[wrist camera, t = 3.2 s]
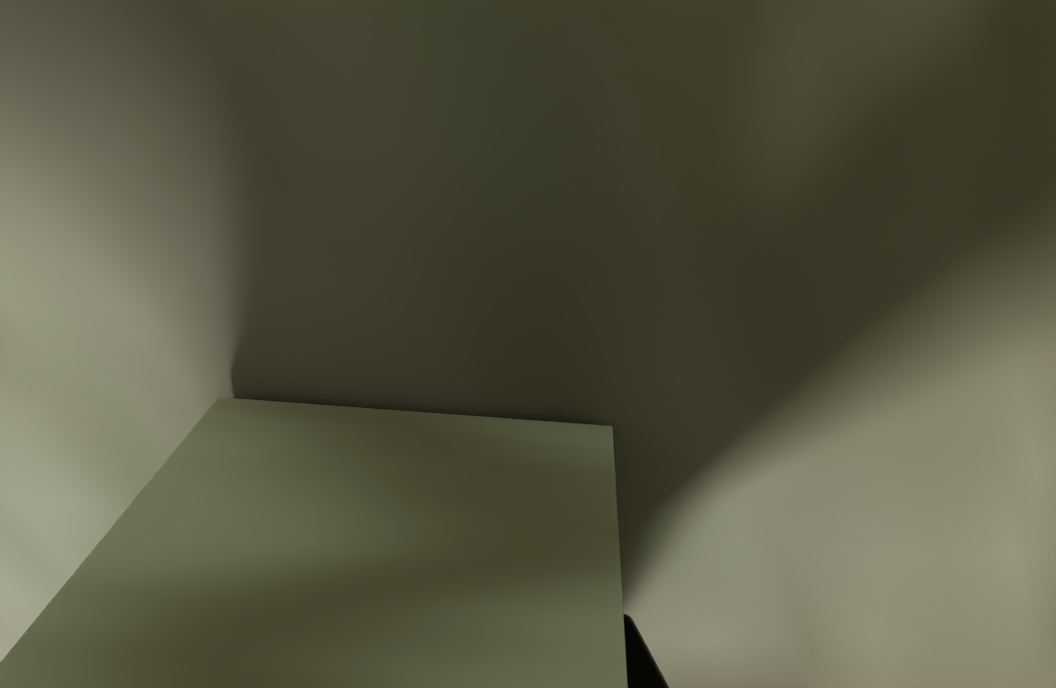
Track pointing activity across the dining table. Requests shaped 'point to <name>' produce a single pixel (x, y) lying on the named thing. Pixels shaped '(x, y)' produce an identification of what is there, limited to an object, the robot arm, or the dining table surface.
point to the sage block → (350, 560)
